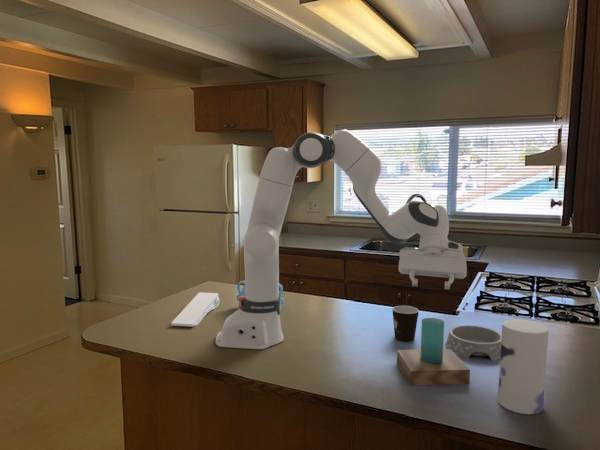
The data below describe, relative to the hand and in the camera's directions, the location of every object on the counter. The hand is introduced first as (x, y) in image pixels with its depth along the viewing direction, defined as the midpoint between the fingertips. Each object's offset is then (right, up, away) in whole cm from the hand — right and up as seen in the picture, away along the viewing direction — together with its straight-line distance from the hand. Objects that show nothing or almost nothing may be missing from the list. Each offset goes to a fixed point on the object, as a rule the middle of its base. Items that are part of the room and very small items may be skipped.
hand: (430, 286), depth 141 cm
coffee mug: (-4, -20, +18) cm, 27 cm away
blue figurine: (-55, -16, +49) cm, 75 cm away
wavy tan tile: (-3, -23, -9) cm, 25 cm away
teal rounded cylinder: (-3, -19, -10) cm, 22 cm away
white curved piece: (-79, -17, +40) cm, 90 cm away
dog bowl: (+16, -21, +8) cm, 28 cm away
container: (+14, -25, -26) cm, 39 cm away
